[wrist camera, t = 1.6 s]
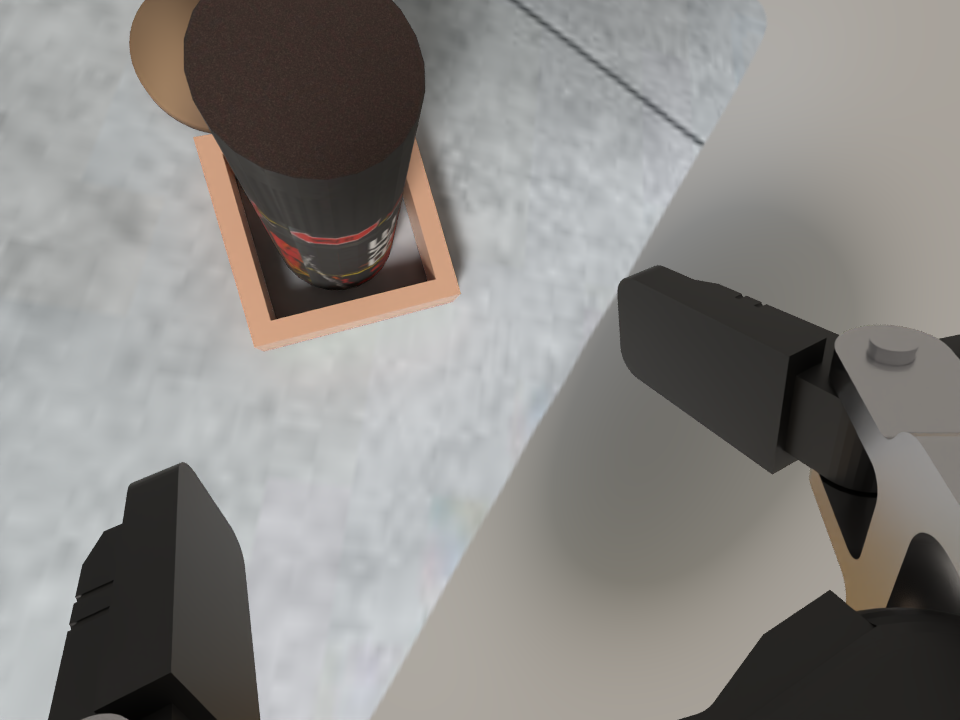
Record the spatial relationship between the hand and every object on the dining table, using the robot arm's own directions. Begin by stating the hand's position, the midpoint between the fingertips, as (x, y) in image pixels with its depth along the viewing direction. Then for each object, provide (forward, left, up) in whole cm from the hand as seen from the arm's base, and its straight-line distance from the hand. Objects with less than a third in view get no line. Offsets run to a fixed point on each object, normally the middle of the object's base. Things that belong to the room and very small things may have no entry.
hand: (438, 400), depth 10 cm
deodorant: (0, +9, -20) cm, 22 cm away
